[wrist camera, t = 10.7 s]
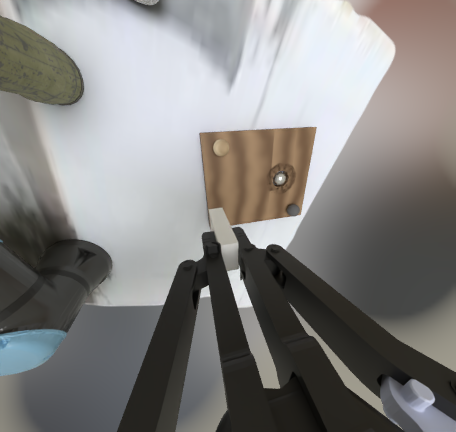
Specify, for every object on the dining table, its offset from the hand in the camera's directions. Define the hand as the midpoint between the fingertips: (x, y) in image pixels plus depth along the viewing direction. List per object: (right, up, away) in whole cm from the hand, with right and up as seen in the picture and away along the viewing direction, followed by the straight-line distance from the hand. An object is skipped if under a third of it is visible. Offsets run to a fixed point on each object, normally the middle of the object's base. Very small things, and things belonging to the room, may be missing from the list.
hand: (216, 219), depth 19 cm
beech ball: (0, +15, +18) cm, 23 cm away
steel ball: (+15, +11, +27) cm, 33 cm away
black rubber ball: (+20, +2, +30) cm, 36 cm away
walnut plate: (+9, +10, +27) cm, 31 cm away
